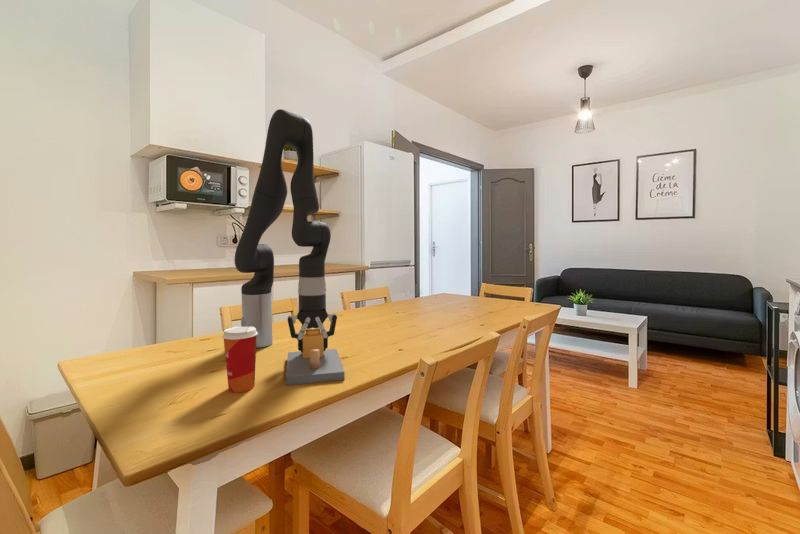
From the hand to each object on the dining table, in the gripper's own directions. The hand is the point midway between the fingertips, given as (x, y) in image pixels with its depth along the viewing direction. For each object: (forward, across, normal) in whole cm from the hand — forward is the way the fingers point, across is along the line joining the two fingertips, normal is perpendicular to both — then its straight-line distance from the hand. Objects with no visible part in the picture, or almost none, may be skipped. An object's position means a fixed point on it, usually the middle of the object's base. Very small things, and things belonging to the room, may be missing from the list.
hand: (312, 350), depth 105 cm
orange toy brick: (+1, 0, 0) cm, 1 cm away
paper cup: (+3, +17, +15) cm, 23 cm away
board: (+3, 0, +6) cm, 7 cm away
